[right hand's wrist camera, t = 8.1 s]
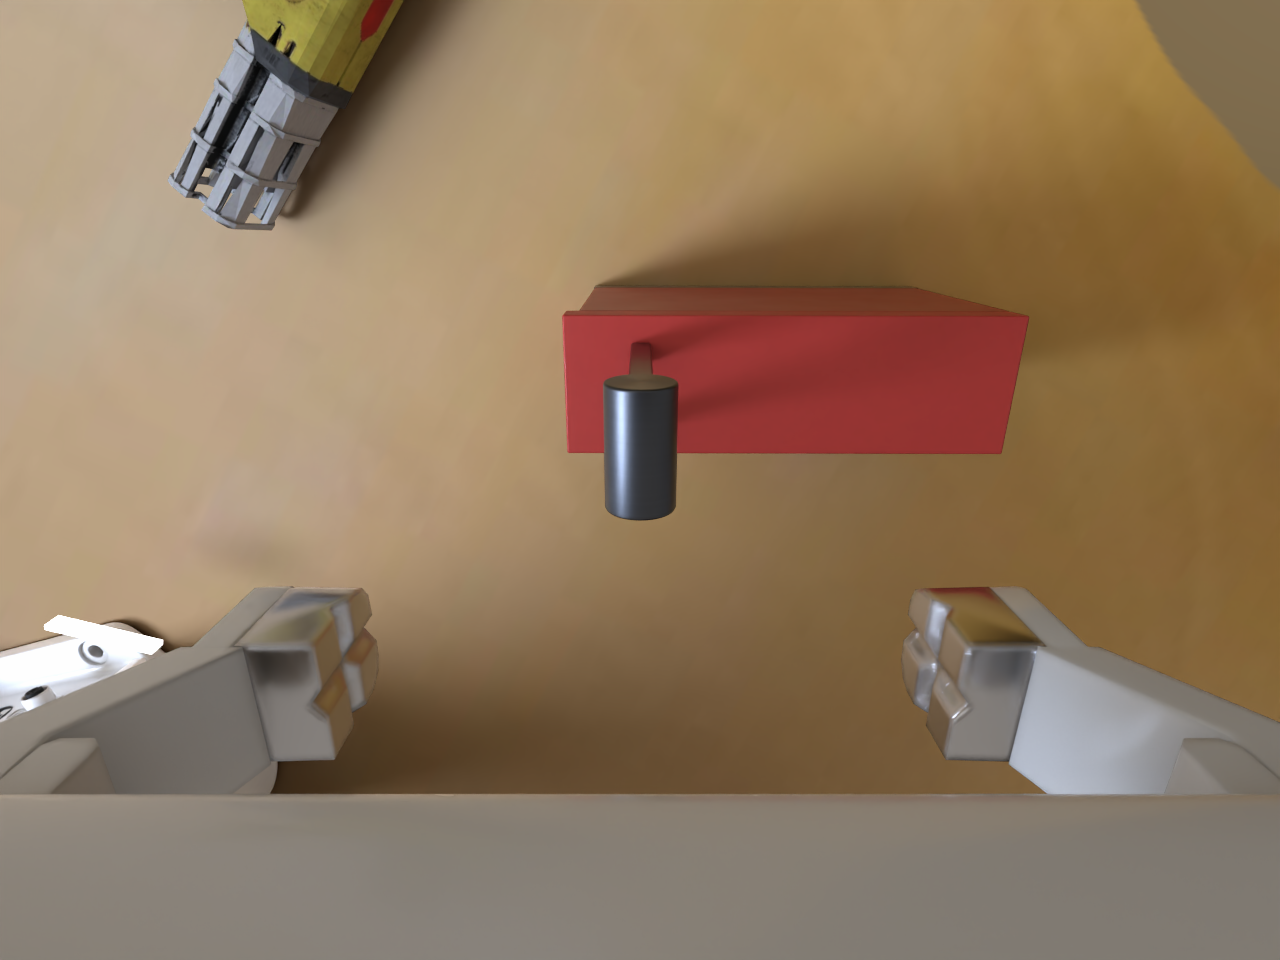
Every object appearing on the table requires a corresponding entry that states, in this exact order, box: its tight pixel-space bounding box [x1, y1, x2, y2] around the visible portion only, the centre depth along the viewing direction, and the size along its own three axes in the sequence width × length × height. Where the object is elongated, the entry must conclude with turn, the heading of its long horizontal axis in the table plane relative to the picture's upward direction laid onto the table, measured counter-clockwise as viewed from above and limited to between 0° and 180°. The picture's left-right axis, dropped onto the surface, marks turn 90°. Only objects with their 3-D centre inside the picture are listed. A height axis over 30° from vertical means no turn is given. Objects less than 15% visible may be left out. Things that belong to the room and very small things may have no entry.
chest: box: [580, 286, 1009, 312], centre depth 30 cm, size 16×5×10 cm, turn 90°
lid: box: [562, 311, 1029, 520], centre depth 21 cm, size 16×5×9 cm, turn 90°
